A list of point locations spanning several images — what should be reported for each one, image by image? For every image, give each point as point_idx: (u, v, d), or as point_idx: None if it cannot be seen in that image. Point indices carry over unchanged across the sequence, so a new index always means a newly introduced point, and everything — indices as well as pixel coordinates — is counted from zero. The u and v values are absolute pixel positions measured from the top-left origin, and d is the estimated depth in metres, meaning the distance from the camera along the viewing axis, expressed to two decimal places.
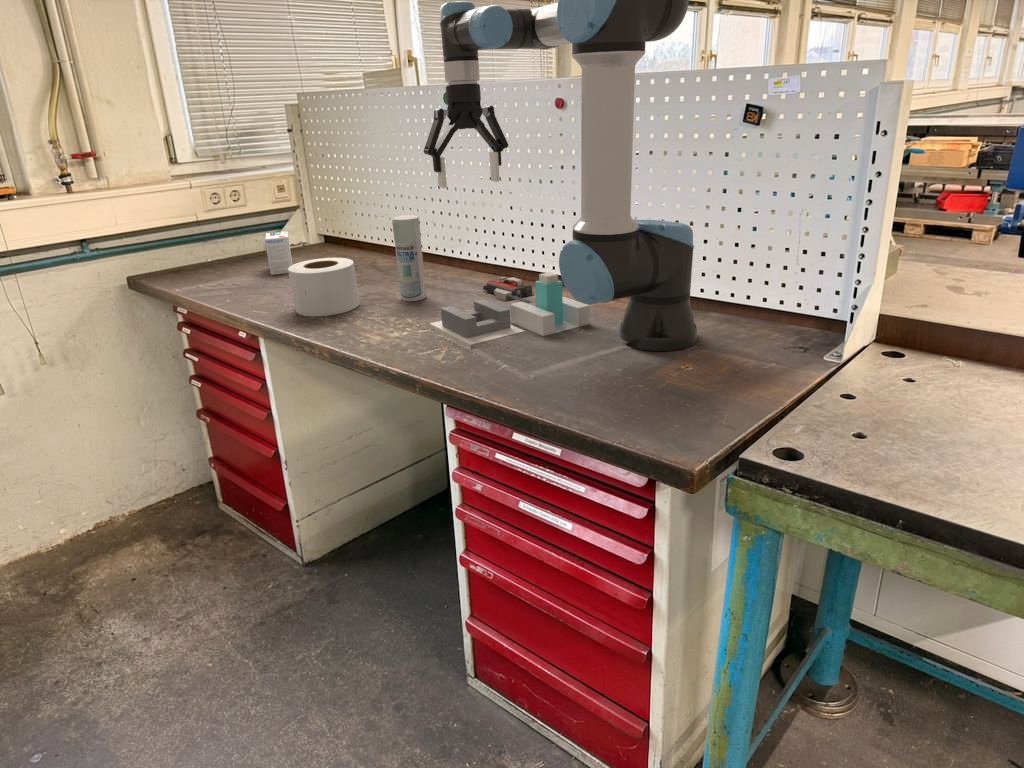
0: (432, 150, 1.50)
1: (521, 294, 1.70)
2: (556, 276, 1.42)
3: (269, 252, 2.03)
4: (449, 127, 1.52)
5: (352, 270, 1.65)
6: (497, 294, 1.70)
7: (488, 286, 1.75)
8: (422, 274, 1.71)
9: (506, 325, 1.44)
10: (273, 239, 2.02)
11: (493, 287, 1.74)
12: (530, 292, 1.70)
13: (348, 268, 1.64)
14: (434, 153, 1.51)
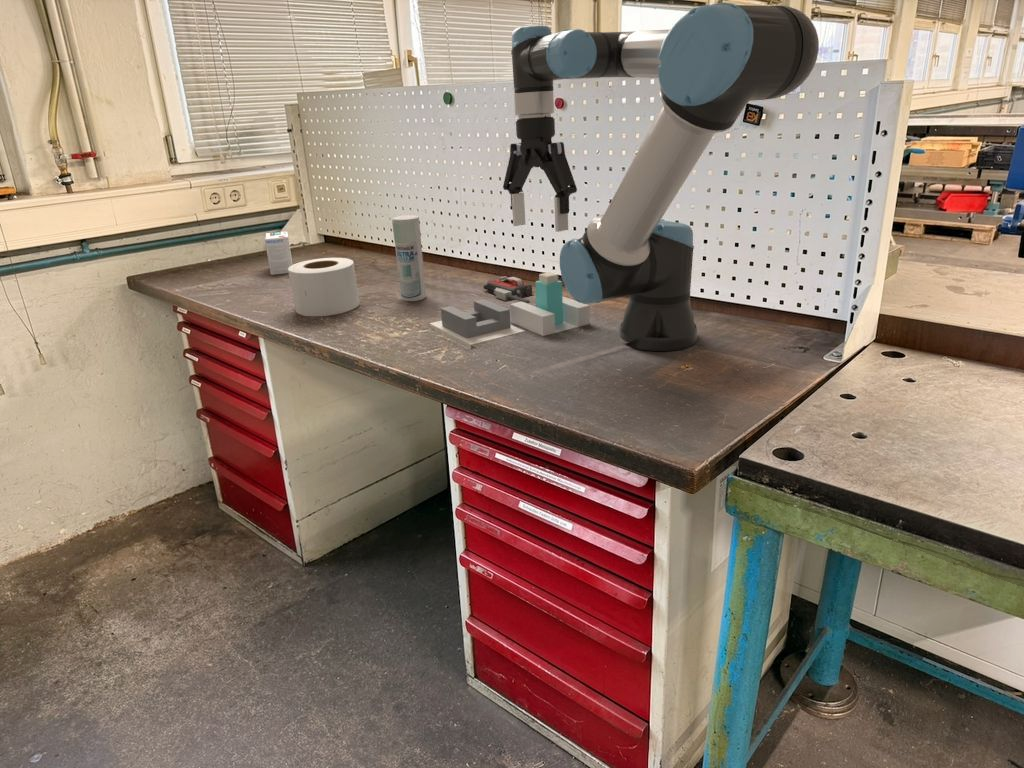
0: (505, 185, 1.44)
1: (521, 294, 1.70)
2: (556, 276, 1.42)
3: (269, 252, 2.03)
4: None
5: (352, 270, 1.65)
6: (497, 293, 1.70)
7: (488, 285, 1.75)
8: (422, 274, 1.71)
9: (506, 325, 1.44)
10: (273, 239, 2.02)
11: (493, 286, 1.74)
12: (530, 292, 1.70)
13: (348, 268, 1.64)
14: None
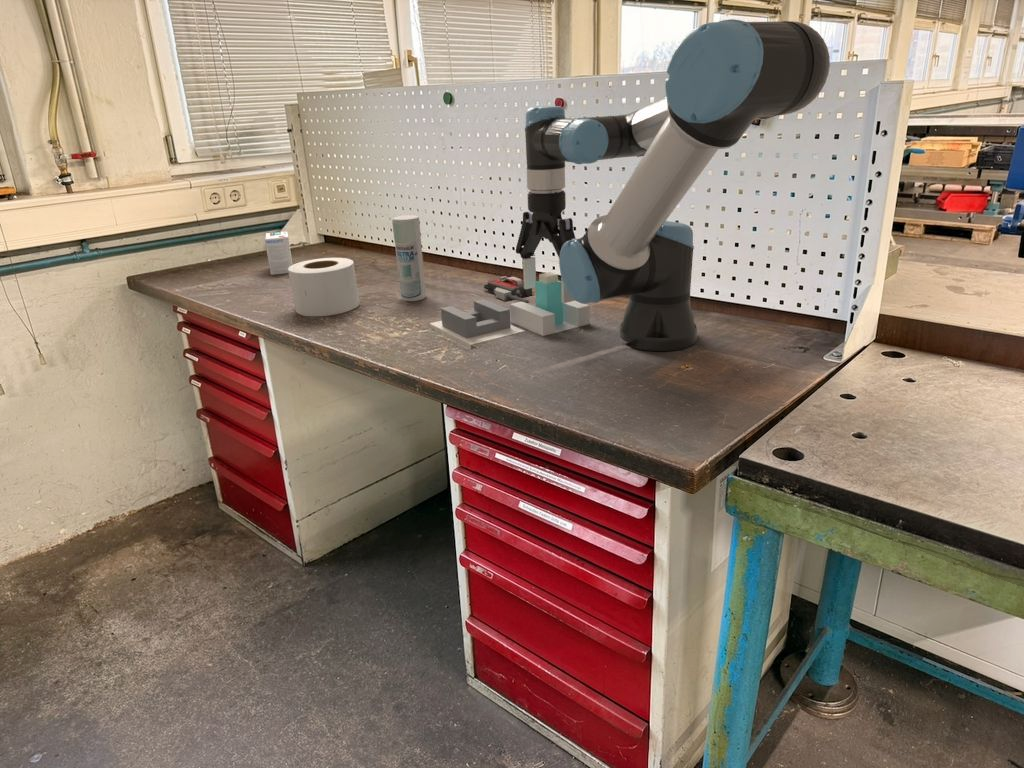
0: (518, 250, 1.48)
1: (521, 293, 1.70)
2: (556, 276, 1.42)
3: (269, 252, 2.03)
4: None
5: (352, 270, 1.65)
6: (497, 293, 1.70)
7: (489, 285, 1.76)
8: (422, 274, 1.71)
9: (506, 325, 1.44)
10: (273, 239, 2.02)
11: (493, 286, 1.74)
12: (530, 292, 1.70)
13: (348, 268, 1.64)
14: None
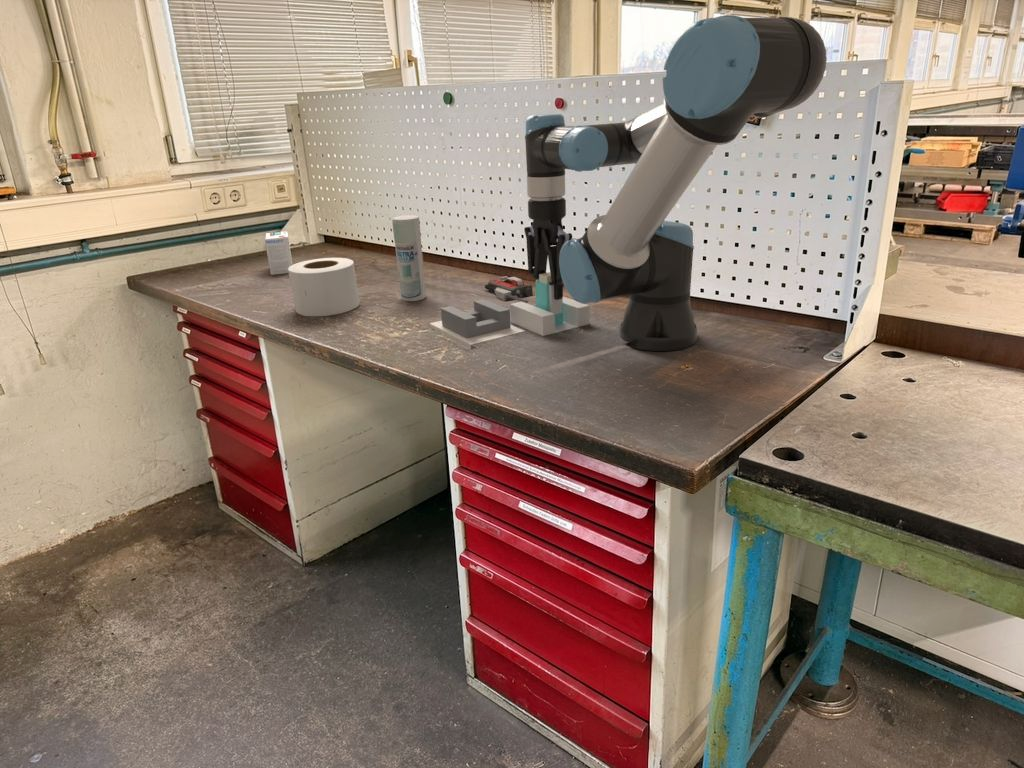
0: (530, 269, 1.46)
1: (521, 294, 1.70)
2: None
3: (269, 252, 2.03)
4: None
5: (352, 270, 1.65)
6: (497, 293, 1.70)
7: (489, 285, 1.76)
8: (422, 274, 1.71)
9: (506, 325, 1.44)
10: (273, 239, 2.02)
11: (494, 286, 1.74)
12: (530, 292, 1.71)
13: (349, 268, 1.64)
14: None
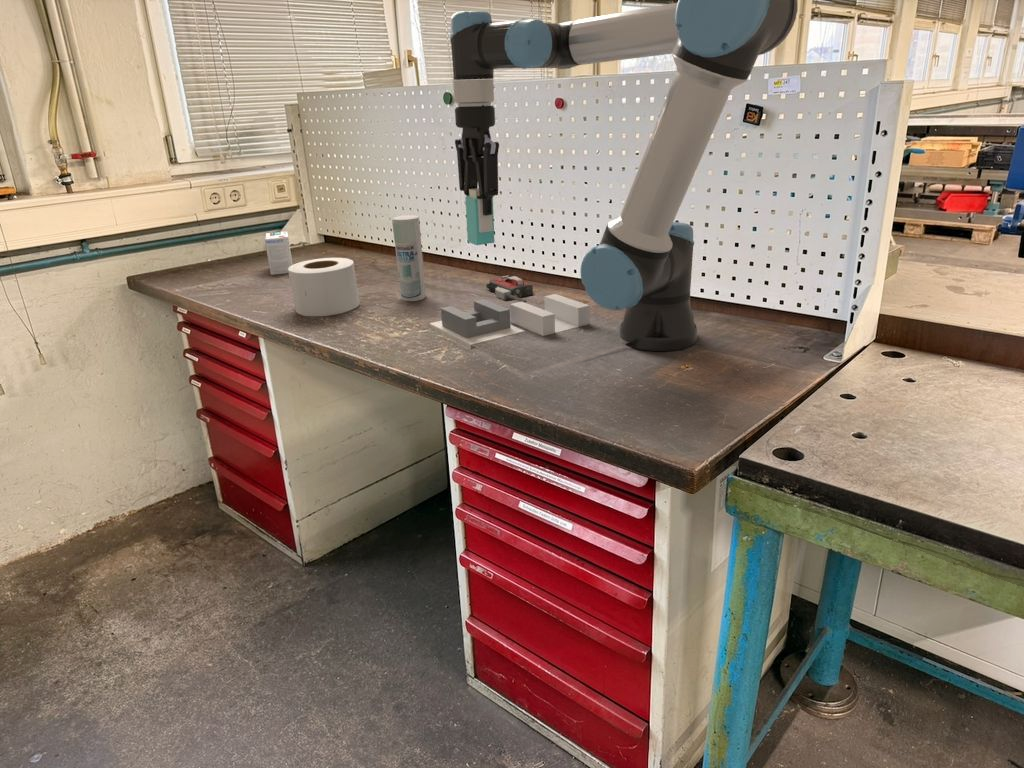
0: (461, 185, 1.39)
1: (521, 293, 1.70)
2: None
3: (269, 252, 2.03)
4: None
5: (352, 270, 1.65)
6: (497, 292, 1.71)
7: (491, 284, 1.76)
8: (422, 274, 1.71)
9: (506, 325, 1.44)
10: (273, 239, 2.02)
11: (495, 285, 1.75)
12: (530, 291, 1.71)
13: (349, 268, 1.64)
14: None
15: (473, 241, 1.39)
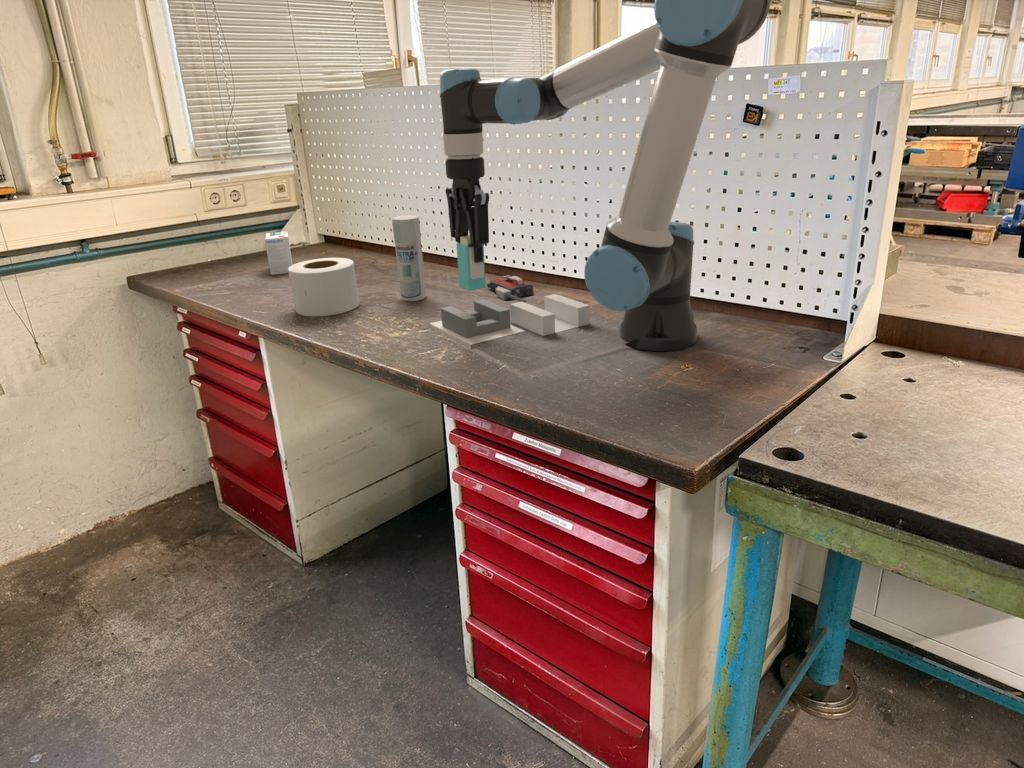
0: (452, 232, 1.42)
1: (521, 293, 1.70)
2: None
3: (269, 252, 2.03)
4: None
5: (352, 270, 1.65)
6: (497, 292, 1.71)
7: (491, 284, 1.77)
8: (422, 274, 1.71)
9: (506, 325, 1.44)
10: (273, 239, 2.02)
11: (495, 285, 1.75)
12: (530, 291, 1.71)
13: (348, 268, 1.64)
14: None
15: (465, 287, 1.42)
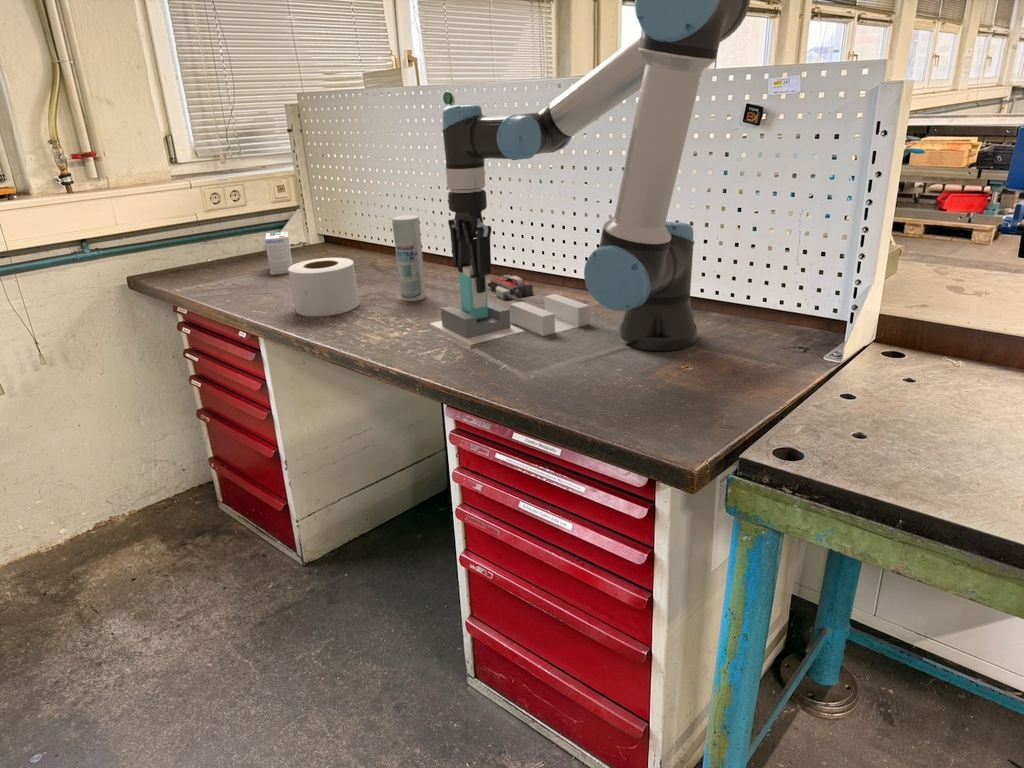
0: (455, 262, 1.45)
1: (520, 293, 1.70)
2: None
3: (269, 252, 2.03)
4: None
5: (352, 270, 1.65)
6: (497, 292, 1.71)
7: (492, 283, 1.77)
8: (422, 274, 1.71)
9: (506, 325, 1.44)
10: (273, 239, 2.02)
11: (496, 285, 1.75)
12: (530, 291, 1.71)
13: (348, 268, 1.64)
14: None
15: None
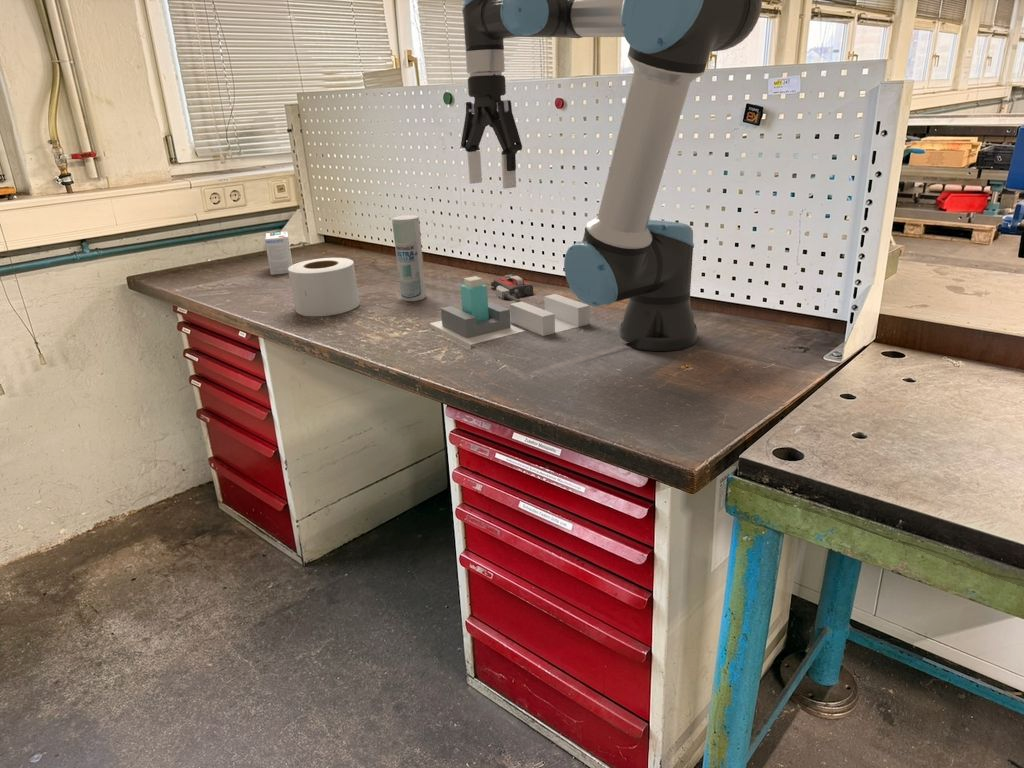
0: (463, 144, 1.49)
1: (520, 293, 1.71)
2: (480, 280, 1.42)
3: (269, 252, 2.03)
4: None
5: (352, 270, 1.65)
6: (497, 291, 1.72)
7: (494, 283, 1.78)
8: (422, 274, 1.71)
9: (506, 325, 1.44)
10: (273, 239, 2.02)
11: (497, 284, 1.76)
12: (529, 292, 1.71)
13: (349, 268, 1.64)
14: None
15: None
